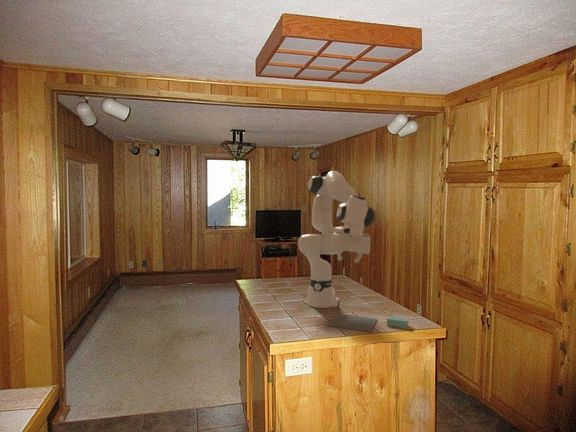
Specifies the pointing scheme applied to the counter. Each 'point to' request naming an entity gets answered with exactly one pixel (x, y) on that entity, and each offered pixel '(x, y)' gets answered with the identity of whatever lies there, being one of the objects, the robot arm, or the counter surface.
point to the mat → (352, 322)
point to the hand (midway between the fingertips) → (348, 261)
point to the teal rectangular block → (397, 322)
